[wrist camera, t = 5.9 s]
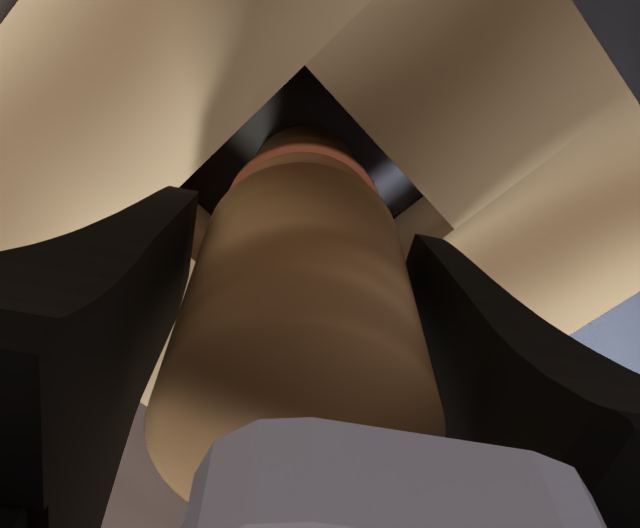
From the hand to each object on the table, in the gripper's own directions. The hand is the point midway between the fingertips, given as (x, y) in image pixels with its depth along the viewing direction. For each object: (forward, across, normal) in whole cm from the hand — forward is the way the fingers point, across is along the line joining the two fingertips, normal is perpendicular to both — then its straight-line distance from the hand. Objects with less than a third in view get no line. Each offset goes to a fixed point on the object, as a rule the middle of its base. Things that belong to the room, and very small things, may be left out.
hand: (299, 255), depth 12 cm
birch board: (+4, 0, 0) cm, 4 cm away
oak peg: (+4, 0, 0) cm, 4 cm away
